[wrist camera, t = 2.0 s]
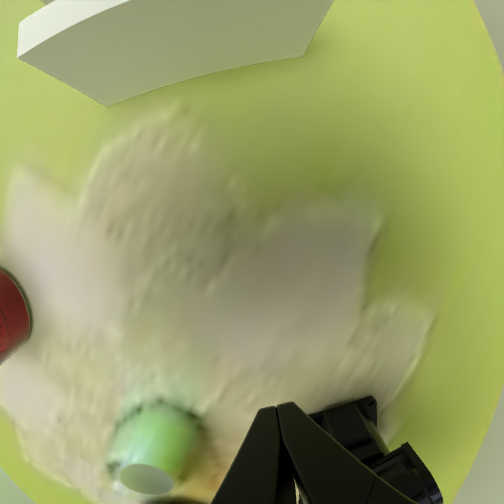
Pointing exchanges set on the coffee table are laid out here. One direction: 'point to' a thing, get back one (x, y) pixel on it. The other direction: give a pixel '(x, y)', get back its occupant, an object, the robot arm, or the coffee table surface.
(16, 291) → the soda can
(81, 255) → the coffee table surface
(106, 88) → the domino
